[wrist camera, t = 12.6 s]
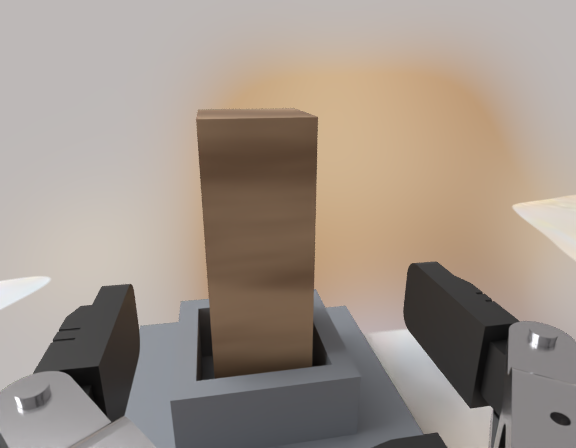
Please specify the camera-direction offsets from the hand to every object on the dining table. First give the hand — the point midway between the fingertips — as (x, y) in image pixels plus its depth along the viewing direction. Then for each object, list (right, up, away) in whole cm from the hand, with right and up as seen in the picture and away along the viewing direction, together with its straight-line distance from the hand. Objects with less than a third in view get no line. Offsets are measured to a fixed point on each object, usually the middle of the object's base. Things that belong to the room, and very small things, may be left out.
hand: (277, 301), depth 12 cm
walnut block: (-1, -6, +10) cm, 12 cm away
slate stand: (-1, -7, +10) cm, 13 cm away
